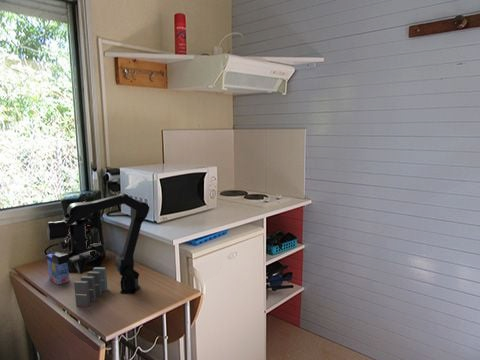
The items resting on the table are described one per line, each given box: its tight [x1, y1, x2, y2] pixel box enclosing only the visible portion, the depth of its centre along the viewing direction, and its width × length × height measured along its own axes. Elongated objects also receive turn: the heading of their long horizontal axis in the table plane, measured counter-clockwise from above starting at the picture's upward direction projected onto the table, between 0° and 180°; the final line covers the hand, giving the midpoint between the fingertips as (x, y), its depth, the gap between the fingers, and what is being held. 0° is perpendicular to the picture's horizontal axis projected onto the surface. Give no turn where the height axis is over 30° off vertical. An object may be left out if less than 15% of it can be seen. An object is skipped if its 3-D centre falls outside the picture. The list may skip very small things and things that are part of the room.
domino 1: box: [73, 280, 91, 308], centre depth 138 cm, size 5×2×10 cm, turn 82°
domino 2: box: [80, 275, 97, 302], centre depth 143 cm, size 5×2×10 cm, turn 82°
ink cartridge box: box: [46, 250, 70, 285], centre depth 161 cm, size 10×6×14 cm, turn 50°
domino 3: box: [86, 271, 103, 297], centre depth 147 cm, size 5×2×10 cm, turn 82°
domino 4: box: [92, 266, 108, 292], centre depth 151 cm, size 5×2×10 cm, turn 82°
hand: (80, 273), depth 138 cm, fingers closed
